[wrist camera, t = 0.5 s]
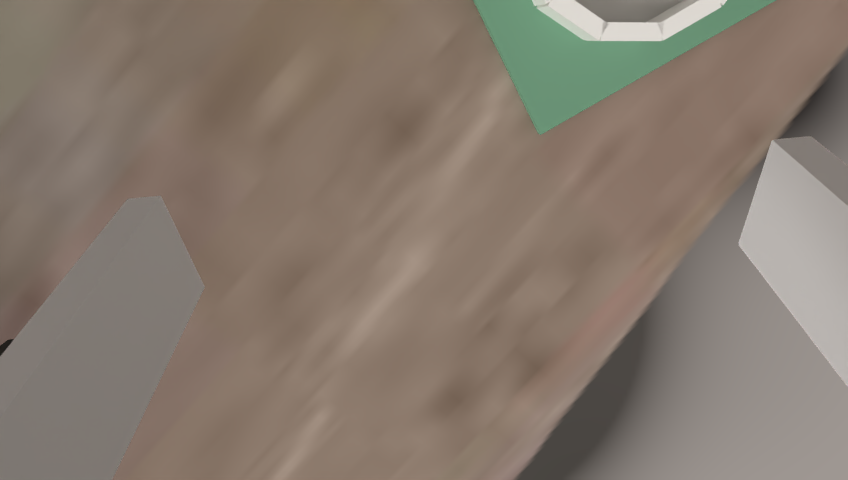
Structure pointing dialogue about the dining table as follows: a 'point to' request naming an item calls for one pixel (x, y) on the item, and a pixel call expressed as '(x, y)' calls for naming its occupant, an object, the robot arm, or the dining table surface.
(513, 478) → the dining table surface
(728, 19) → the putting mat
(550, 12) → the white round plate
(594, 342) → the dining table surface
